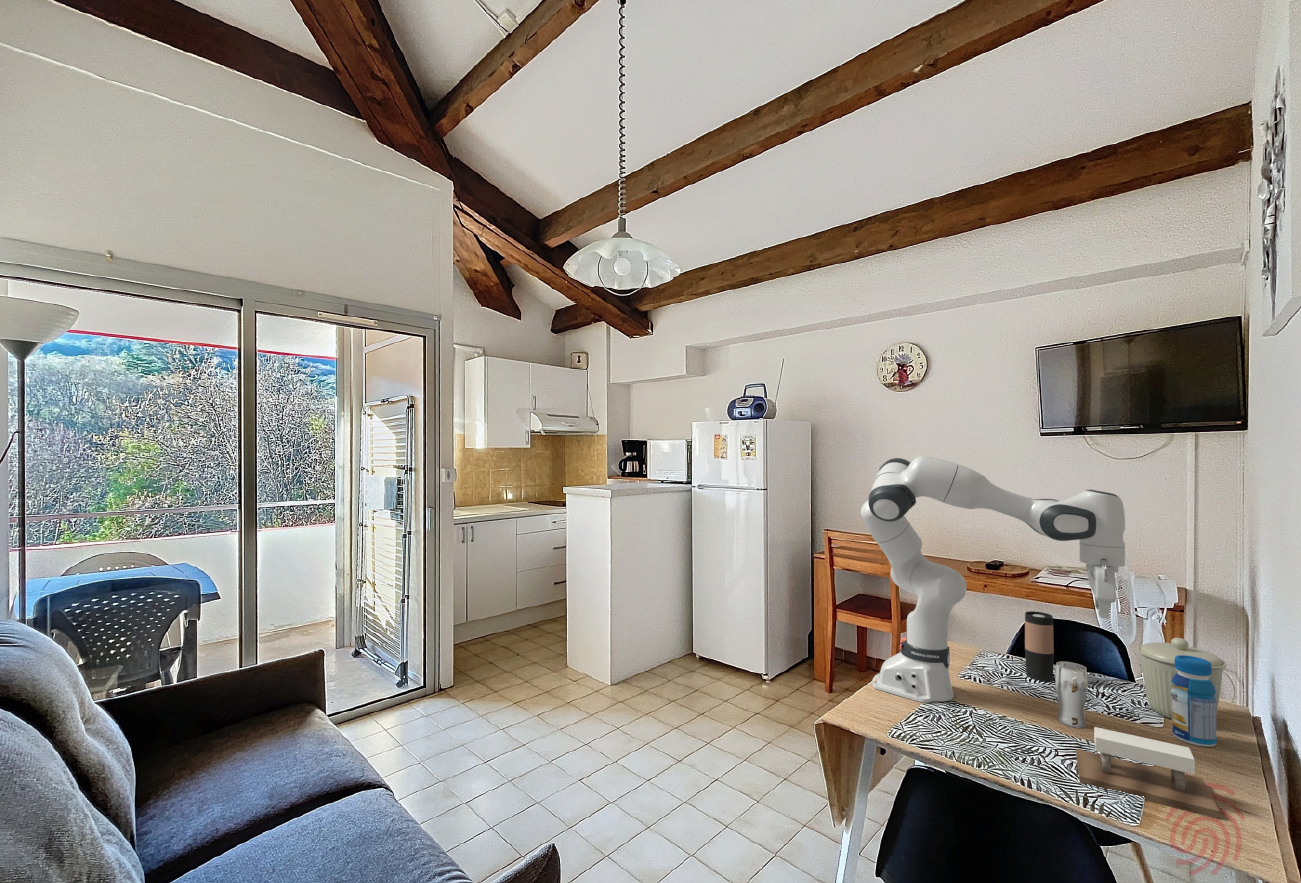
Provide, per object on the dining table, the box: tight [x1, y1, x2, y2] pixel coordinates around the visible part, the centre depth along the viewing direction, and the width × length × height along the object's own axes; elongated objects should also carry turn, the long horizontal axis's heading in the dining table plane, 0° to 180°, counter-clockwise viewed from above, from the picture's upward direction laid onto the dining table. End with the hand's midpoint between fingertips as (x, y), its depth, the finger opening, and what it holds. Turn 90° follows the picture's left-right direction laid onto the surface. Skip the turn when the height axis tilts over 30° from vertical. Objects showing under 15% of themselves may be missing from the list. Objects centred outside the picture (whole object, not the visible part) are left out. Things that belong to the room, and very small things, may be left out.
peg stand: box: [1075, 748, 1221, 820], centre depth 125 cm, size 22×14×6 cm, turn 56°
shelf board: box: [1093, 726, 1196, 776], centre depth 125 cm, size 6×16×3 cm, turn 55°
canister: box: [1136, 637, 1227, 720], centre depth 158 cm, size 18×18×21 cm
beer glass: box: [1054, 661, 1089, 729], centre depth 153 cm, size 7×7×15 cm
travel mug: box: [1024, 610, 1055, 682], centre depth 185 cm, size 8×8×20 cm
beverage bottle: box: [1171, 655, 1218, 748], centre depth 144 cm, size 8×8×20 cm
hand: (1101, 613), depth 141 cm, fingers open, 8 cm apart
